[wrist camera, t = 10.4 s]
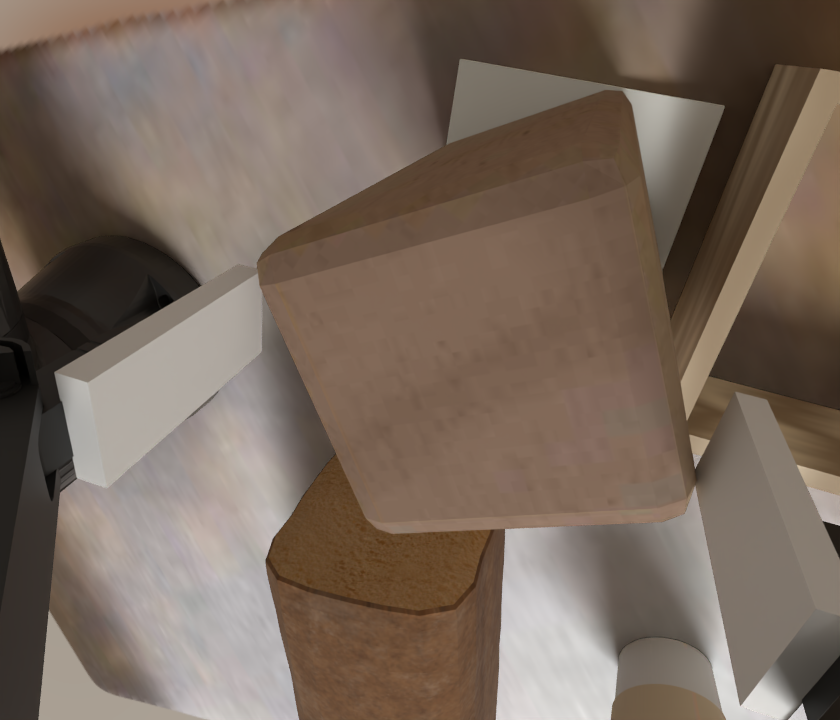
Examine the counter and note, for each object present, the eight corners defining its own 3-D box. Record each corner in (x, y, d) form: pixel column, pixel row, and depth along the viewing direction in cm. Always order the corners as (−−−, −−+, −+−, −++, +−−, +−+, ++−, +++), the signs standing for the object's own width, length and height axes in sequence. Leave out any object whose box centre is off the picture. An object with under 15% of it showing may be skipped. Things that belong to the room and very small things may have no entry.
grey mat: (425, 287, 37) (423, 290, 36) (462, 58, 30) (459, 59, 29) (633, 340, 34) (633, 345, 34) (723, 105, 28) (725, 106, 27)
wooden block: (437, 146, 32) (228, 256, 15) (627, 81, 28) (632, 132, 11) (488, 310, 35) (365, 548, 19) (662, 274, 31) (706, 536, 14)
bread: (367, 702, 61) (305, 862, 49) (334, 439, 45) (231, 580, 33) (498, 741, 57) (466, 924, 45) (513, 467, 41) (469, 638, 29)
